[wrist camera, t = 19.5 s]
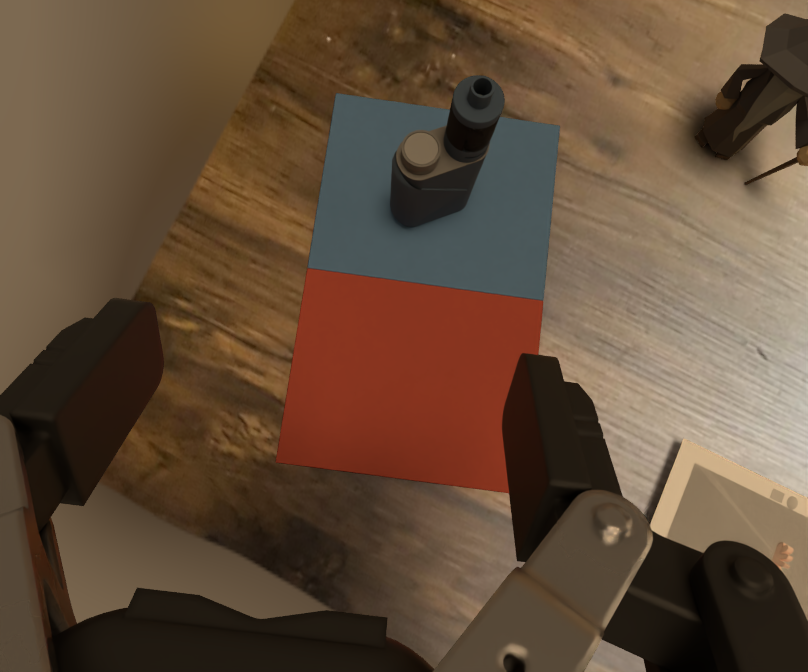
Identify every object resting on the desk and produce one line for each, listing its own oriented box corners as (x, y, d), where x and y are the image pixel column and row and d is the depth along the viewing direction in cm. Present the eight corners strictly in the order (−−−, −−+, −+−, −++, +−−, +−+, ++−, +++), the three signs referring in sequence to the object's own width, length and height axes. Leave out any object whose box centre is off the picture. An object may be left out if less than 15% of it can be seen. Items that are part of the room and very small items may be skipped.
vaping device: (474, 208, 36) (520, 103, 24) (398, 234, 36) (407, 141, 24) (459, 172, 37) (498, 52, 25) (383, 198, 36) (386, 88, 24)
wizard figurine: (660, 142, 38) (787, 15, 26) (703, 83, 39) (846, -67, 27) (762, 214, 38) (939, 118, 26) (804, 153, 38) (994, 32, 26)
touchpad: (857, 670, 33) (890, 687, 31) (627, 557, 34) (644, 566, 32) (897, 545, 35) (931, 553, 32) (674, 437, 35) (693, 438, 33)
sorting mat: (276, 461, 34) (275, 462, 33) (336, 97, 38) (335, 92, 37) (523, 494, 34) (525, 495, 34) (557, 129, 38) (560, 125, 37)
